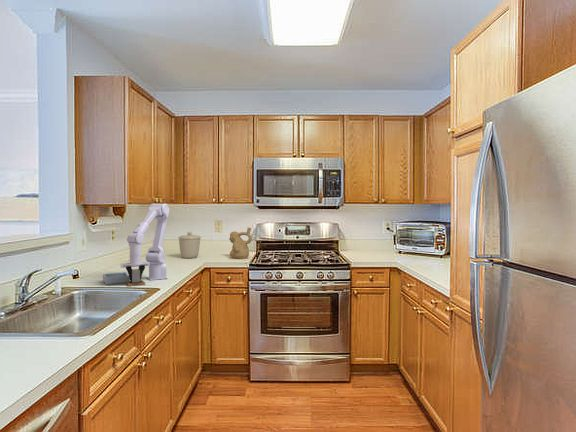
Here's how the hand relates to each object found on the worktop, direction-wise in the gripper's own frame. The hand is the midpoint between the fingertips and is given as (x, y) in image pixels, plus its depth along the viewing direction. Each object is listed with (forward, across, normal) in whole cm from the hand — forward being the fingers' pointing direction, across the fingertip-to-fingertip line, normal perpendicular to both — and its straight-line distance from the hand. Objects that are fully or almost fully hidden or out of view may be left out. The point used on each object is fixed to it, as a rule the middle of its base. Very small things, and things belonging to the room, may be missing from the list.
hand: (135, 279), depth 206 cm
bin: (+2, -8, +11) cm, 14 cm away
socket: (+2, 0, 0) cm, 2 cm away
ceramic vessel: (+3, +92, +61) cm, 110 cm away
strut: (+2, 0, 0) cm, 2 cm away
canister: (+3, +57, +82) cm, 100 cm away
